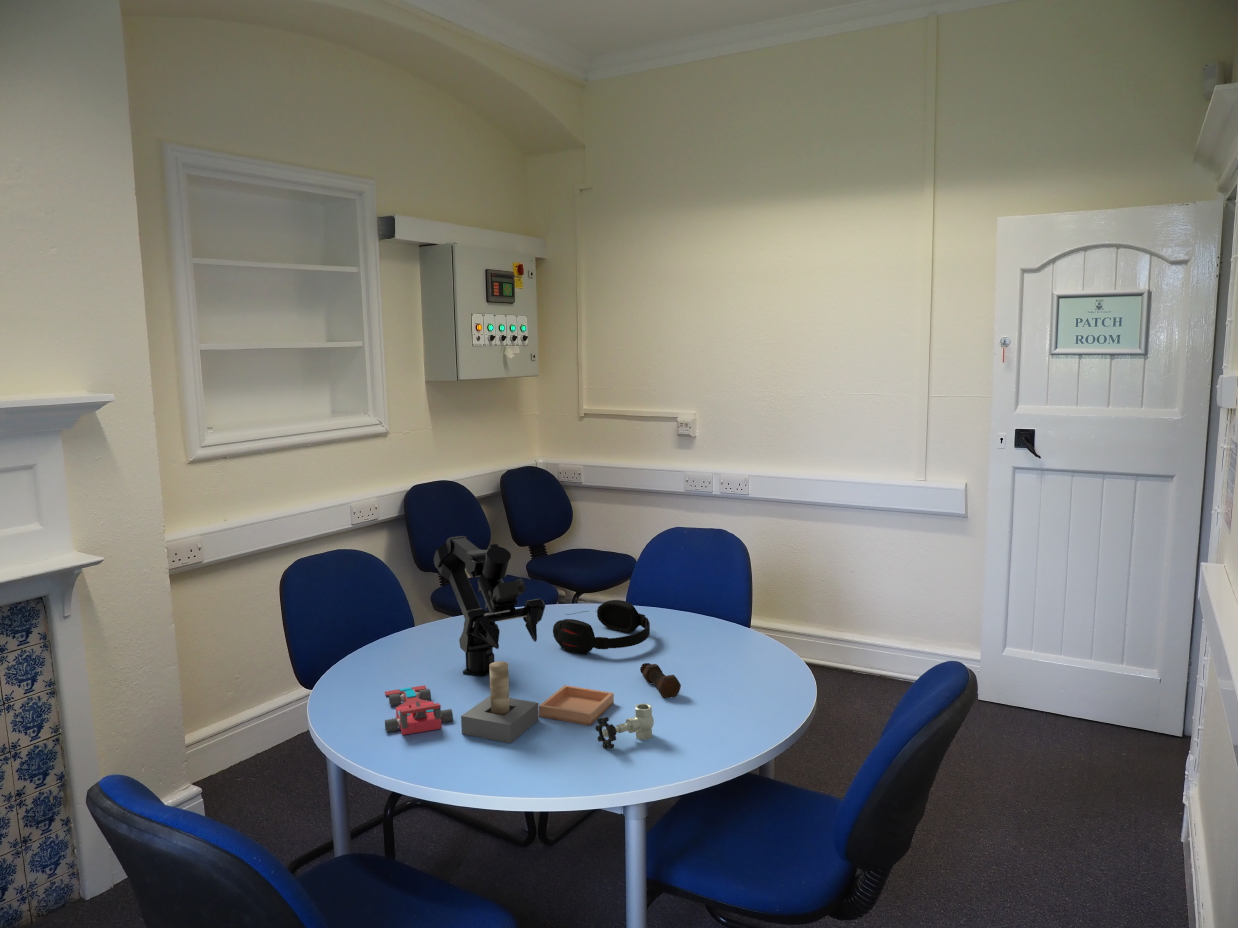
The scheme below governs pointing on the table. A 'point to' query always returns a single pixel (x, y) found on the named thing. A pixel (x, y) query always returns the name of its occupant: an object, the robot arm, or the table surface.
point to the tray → (576, 705)
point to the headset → (610, 614)
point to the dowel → (499, 688)
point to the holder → (500, 720)
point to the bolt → (661, 680)
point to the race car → (415, 711)
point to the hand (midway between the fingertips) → (517, 643)
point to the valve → (627, 726)
